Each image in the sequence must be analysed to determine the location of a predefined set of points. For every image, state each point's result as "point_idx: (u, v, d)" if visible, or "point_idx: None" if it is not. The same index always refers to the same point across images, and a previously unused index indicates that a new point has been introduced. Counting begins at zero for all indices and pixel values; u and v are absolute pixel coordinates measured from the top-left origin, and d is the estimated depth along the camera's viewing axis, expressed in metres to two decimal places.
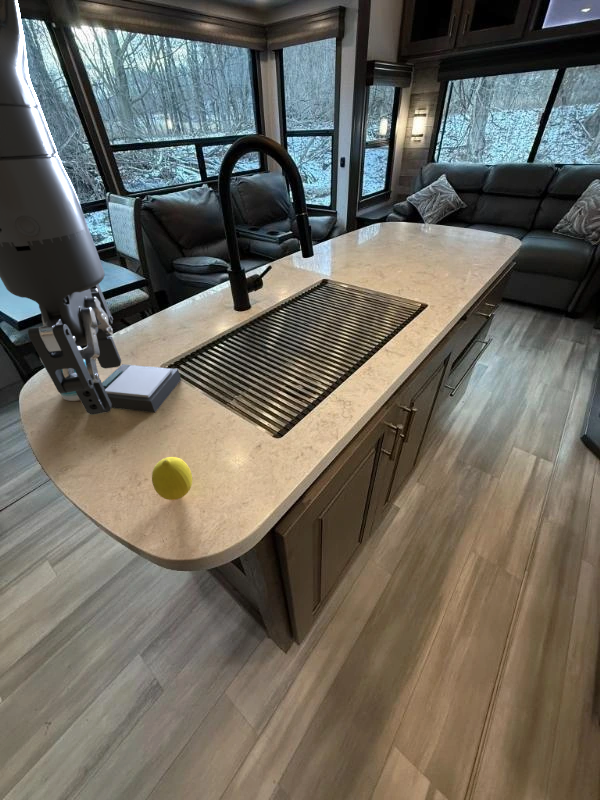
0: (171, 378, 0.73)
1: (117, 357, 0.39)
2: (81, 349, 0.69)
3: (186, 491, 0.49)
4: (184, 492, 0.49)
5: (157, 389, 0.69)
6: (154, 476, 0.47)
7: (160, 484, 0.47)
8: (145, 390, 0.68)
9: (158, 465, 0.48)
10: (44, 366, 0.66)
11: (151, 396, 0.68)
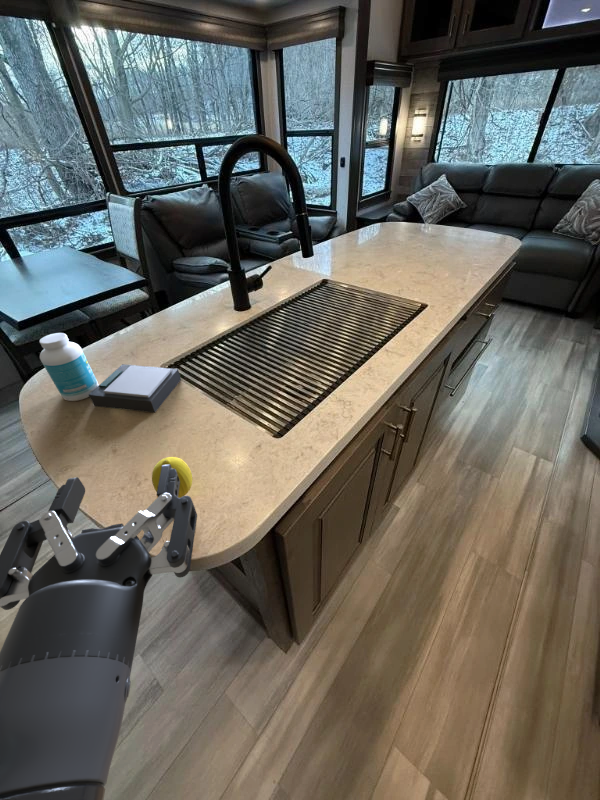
0: (171, 378, 0.73)
1: None
2: (81, 349, 0.69)
3: (186, 491, 0.49)
4: (184, 492, 0.49)
5: (157, 389, 0.69)
6: (154, 476, 0.47)
7: None
8: (145, 390, 0.68)
9: (158, 465, 0.48)
10: (44, 366, 0.66)
11: (151, 396, 0.68)
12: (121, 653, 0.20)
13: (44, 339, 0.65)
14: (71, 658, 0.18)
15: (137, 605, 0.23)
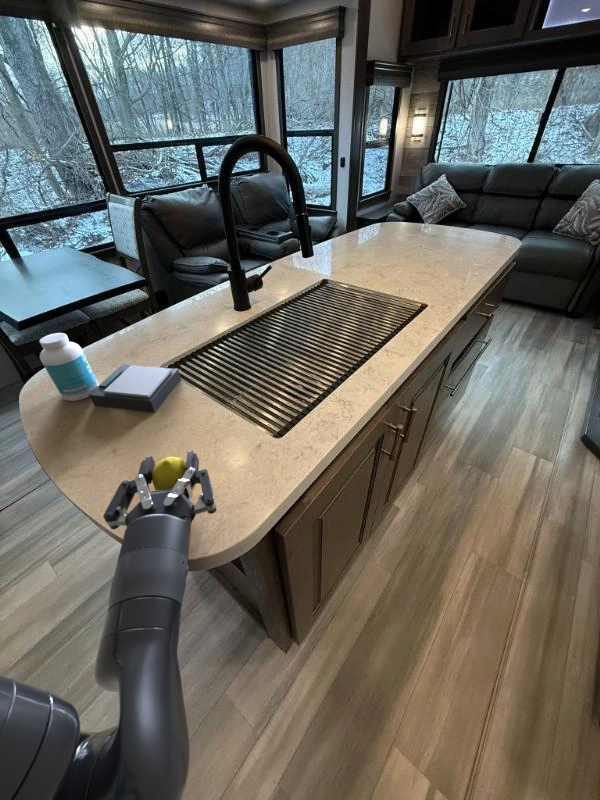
0: (171, 378, 0.73)
1: None
2: (81, 349, 0.69)
3: None
4: None
5: (157, 389, 0.69)
6: (154, 476, 0.47)
7: (160, 484, 0.47)
8: (145, 390, 0.68)
9: (158, 465, 0.48)
10: (44, 366, 0.66)
11: (151, 396, 0.68)
12: (184, 551, 0.38)
13: (44, 339, 0.65)
14: (162, 548, 0.36)
15: (188, 531, 0.41)
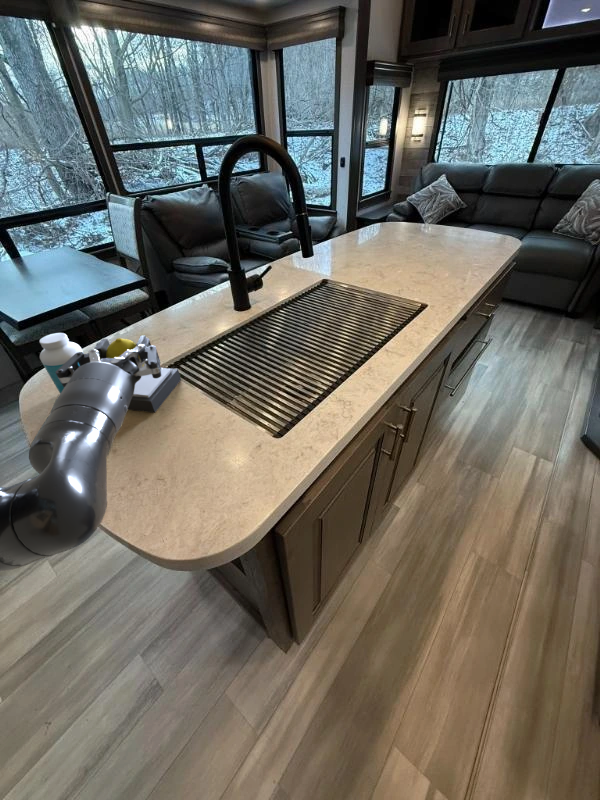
0: (171, 378, 0.73)
1: None
2: (81, 349, 0.69)
3: None
4: None
5: (157, 389, 0.69)
6: (107, 352, 0.52)
7: None
8: (145, 390, 0.68)
9: (112, 343, 0.52)
10: (44, 366, 0.66)
11: (151, 396, 0.68)
12: (123, 391, 0.42)
13: (44, 339, 0.65)
14: (100, 380, 0.40)
15: (131, 383, 0.45)
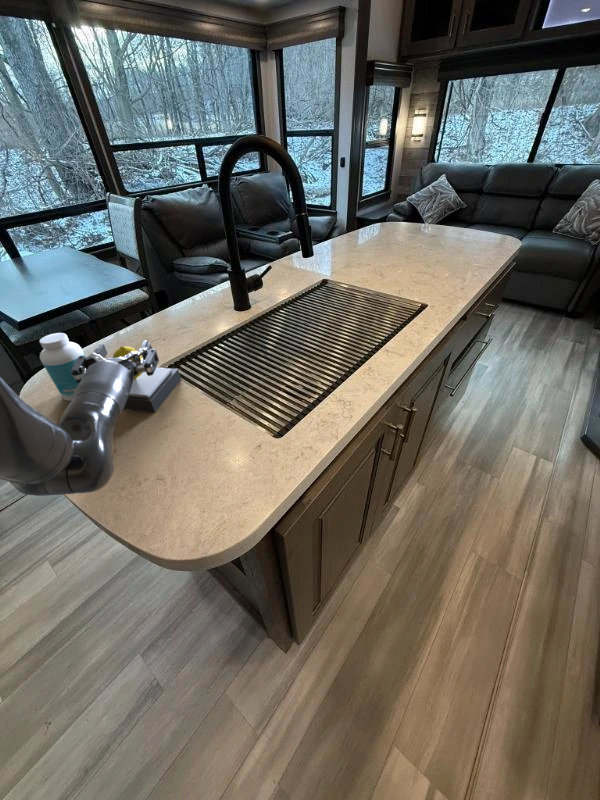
0: (171, 378, 0.73)
1: None
2: (81, 349, 0.69)
3: None
4: None
5: (157, 389, 0.69)
6: (114, 357, 0.66)
7: None
8: (145, 390, 0.68)
9: (117, 350, 0.67)
10: (44, 366, 0.66)
11: (151, 396, 0.68)
12: (124, 383, 0.57)
13: (44, 339, 0.65)
14: (108, 374, 0.55)
15: (130, 377, 0.59)
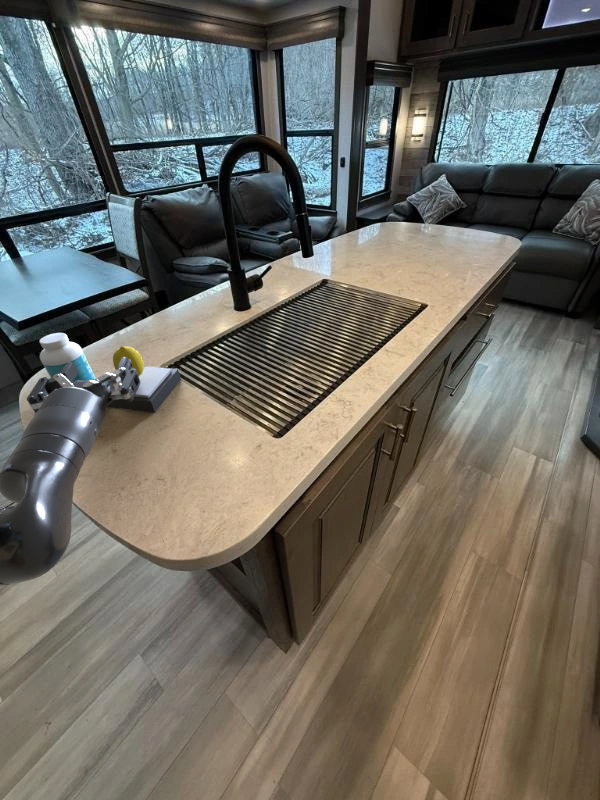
0: (171, 378, 0.73)
1: None
2: (81, 349, 0.69)
3: (138, 372, 0.69)
4: None
5: (157, 389, 0.69)
6: (114, 357, 0.66)
7: (118, 362, 0.66)
8: (145, 390, 0.68)
9: (117, 350, 0.67)
10: (44, 366, 0.66)
11: (151, 396, 0.68)
12: (93, 416, 0.44)
13: (44, 339, 0.65)
14: (70, 407, 0.42)
15: (102, 406, 0.47)
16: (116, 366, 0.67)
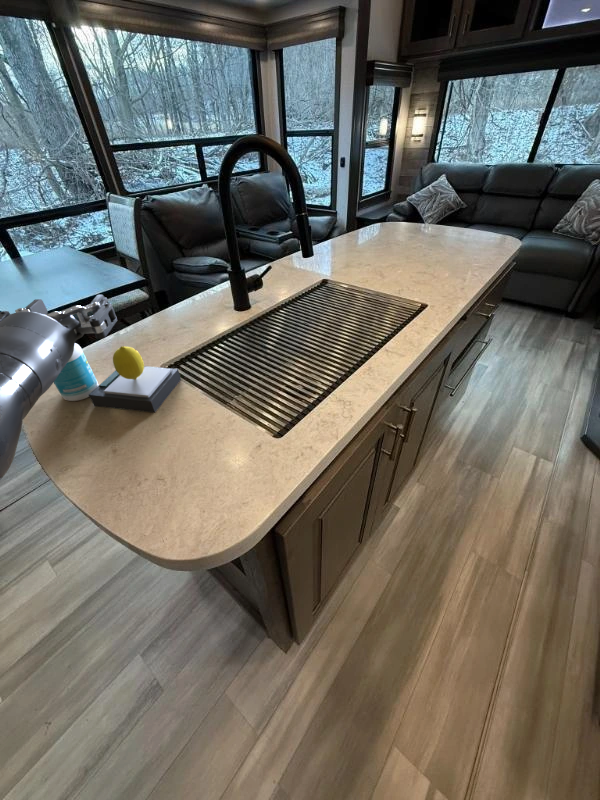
0: (171, 378, 0.73)
1: None
2: (81, 349, 0.69)
3: (138, 372, 0.69)
4: (136, 372, 0.68)
5: (157, 389, 0.69)
6: (114, 357, 0.66)
7: (118, 362, 0.66)
8: (145, 390, 0.68)
9: (117, 350, 0.67)
10: None
11: (151, 396, 0.68)
12: (55, 344, 0.38)
13: None
14: (25, 329, 0.36)
15: (68, 337, 0.40)
16: (116, 366, 0.67)
